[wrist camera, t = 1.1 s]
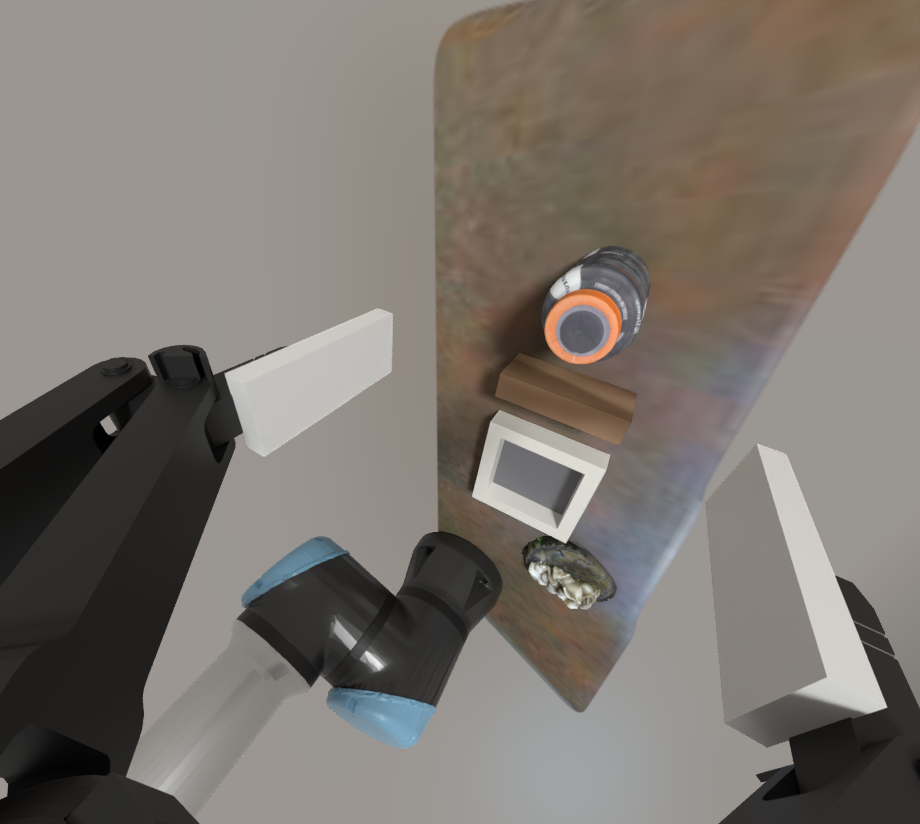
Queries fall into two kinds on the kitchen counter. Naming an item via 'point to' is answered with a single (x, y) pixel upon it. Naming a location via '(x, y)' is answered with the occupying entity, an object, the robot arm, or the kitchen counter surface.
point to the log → (568, 572)
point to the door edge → (567, 397)
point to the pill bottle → (596, 306)
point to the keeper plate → (537, 475)
